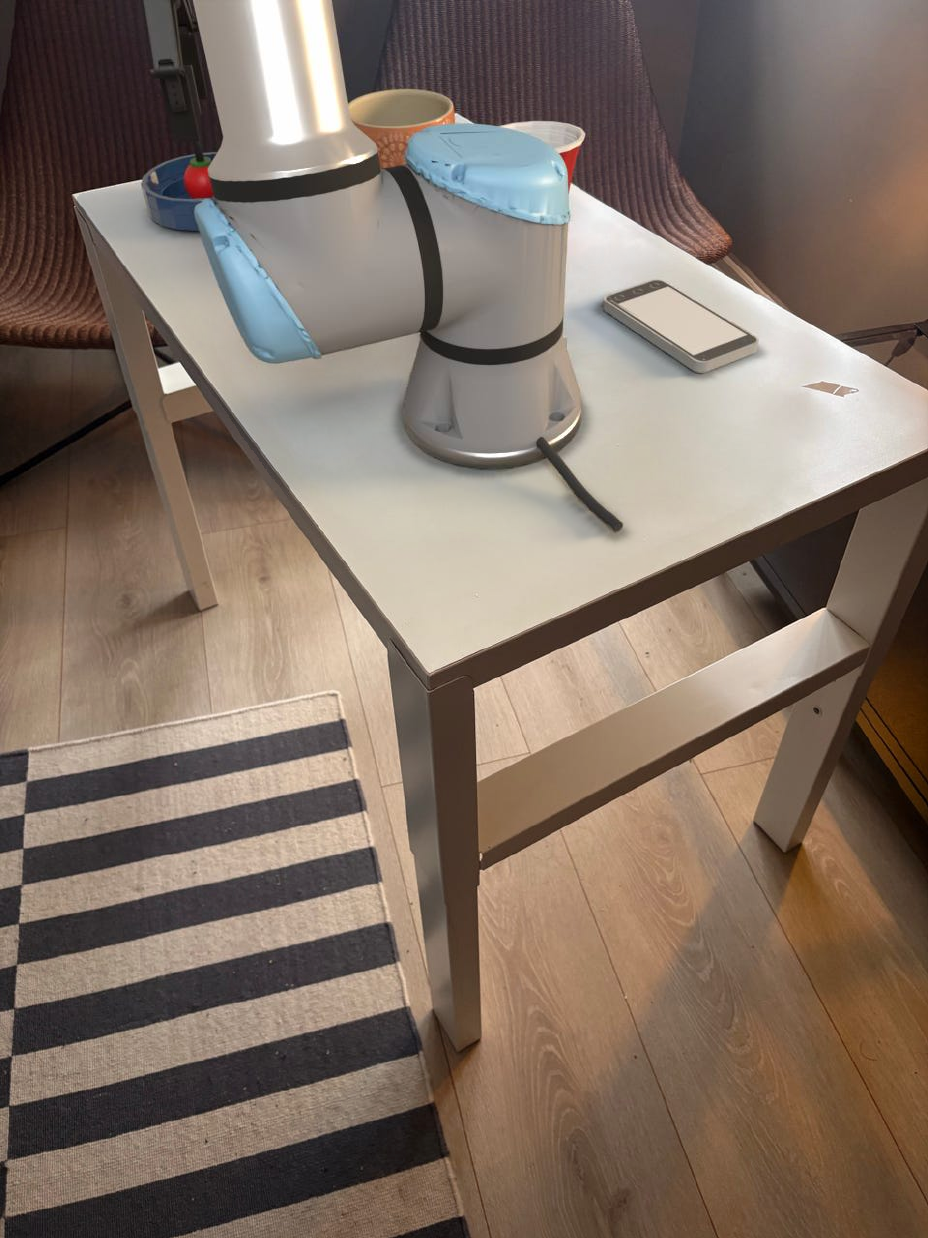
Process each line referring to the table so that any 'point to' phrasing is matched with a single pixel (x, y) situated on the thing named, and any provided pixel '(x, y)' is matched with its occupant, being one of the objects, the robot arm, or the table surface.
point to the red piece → (197, 153)
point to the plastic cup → (555, 139)
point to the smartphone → (680, 325)
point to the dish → (171, 194)
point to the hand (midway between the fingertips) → (191, 118)
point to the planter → (398, 119)
